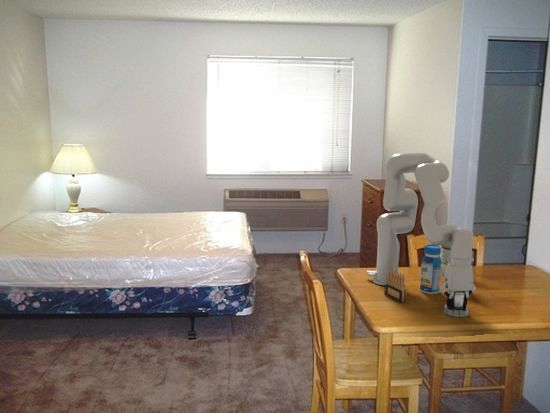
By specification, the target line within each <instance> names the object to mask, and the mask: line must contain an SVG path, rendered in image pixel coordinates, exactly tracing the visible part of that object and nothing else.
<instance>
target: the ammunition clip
mask: <svg viewBox="0 0 550 413" xmlns="http://www.w3.org/2000/svg"><path fill="white" fill-rule="evenodd" d="M405 278H406V277H405V274H404V273H402V272H399V270H398V271H397V274H396V271H395V270H394V273H393V269H392V270H391V272H390V268H389V269H388V274H387V283H386V286H385V289H384V295H385V296H386V295H387V296H386V297H389V298H390V299H392V300H394V301H397V302H398V303H400V304H404V303H406V290H405V287H406V284H405V281H406V280H405Z"/></svg>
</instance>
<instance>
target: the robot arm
mask: <svg viewBox="0 0 550 413" xmlns="http://www.w3.org/2000/svg"><path fill="white" fill-rule="evenodd" d="M405 174H414V177H415V180H416V183H417V186H418V189H419V191H420V195H421V198H422V201H423V208H422V210H421V217H420V224H421V228H422V231H423V234H424V236H425V239H426V241H427V242H428V244H432V245H435V246H441V245H445V244H451V252H450V264H447V267H446V270H445V275H444V276H443V282H442V285H441V286H440V289H439V292H441V293H442V294H443V295H445V297H446V303H445V305H447V307H449V308H450V309H452V308H453V299H452V296H453V294H454V292H456V291H464V292H465V294H464V303H463V307H464V308H466V307H468V306H467V305H468V299H469V298H470V296H471V295H472V294H473V292H475V291H476V290H477V287H476V285H475V284H474V282H473V277H474V270H473V265H472V262H474V261H475V258H474V257H473V256H472V254H473V243H474V232H473V231H472V230H471V229H468V228H462V227H460V226H459V225H456V224H452V223H451V224H441V225H438V223H437V219H436V217H435V216H436V209H437V207H438V206H439V205H441V204H442V203H443V202H444V201H446V194H445V191H444V188H443V186H442V184H443V183H445V182H447V181H448V179H449V177H450V171H449V168H448V167H447V165H446V164H445V163H443V162H442V161H440V160H439V159H436V158H435V157H433V156H431V155H429V154H427V153H424V152H404V153H396V154H393V155H391V156H390V157H389V158H388V159H387V160H386V164H385V184H384V193H383V201H382V204H383V208H384V209H385V210H387V211H388V213H384V214H381V215H380V216H378V218H377V220H376V231H377V254H376V255H377V256H376V269H375V270H372V271H371V270H366V275H368V277H372V279H371V281H372V282H373V283H374V284H376V285H378V286H383V287H384V286H386V283H387V274H388V269H389V268H390V272H391V270H392V269H393V273H394V270H395V271H396V274H397V271H398V272H399V262H400V260H399V259H400V240H399V239H398V237H397V235H398V234H407V233H410V232H411V231H413V229H414V227H415V223H416V219H417V218H416V216H417V210H418V206H419V199H418V194H417V193H416V192H415V190H413V189H412V188H406V186H407V185H406V183H407V181H406V180H407V179H406V176H405ZM398 211H399V212H398ZM446 289H447V290H446Z"/></svg>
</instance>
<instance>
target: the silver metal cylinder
mask: <svg viewBox="0 0 550 413" xmlns="http://www.w3.org/2000/svg"><path fill="white" fill-rule="evenodd" d="M464 294H465V292H464V291H456V292H454V294H453V296H452V299H453V308H452V309H453V310H463V303H464Z"/></svg>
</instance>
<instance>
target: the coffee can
mask: <svg viewBox="0 0 550 413" xmlns="http://www.w3.org/2000/svg"><path fill="white" fill-rule="evenodd" d="M440 247H441V254H440V258H441V261H442V264H441V267H442V270H441V274H440V276H443V277H444V275H445V270H446V267H447V264H450V252H451V244H445V245H440Z"/></svg>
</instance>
